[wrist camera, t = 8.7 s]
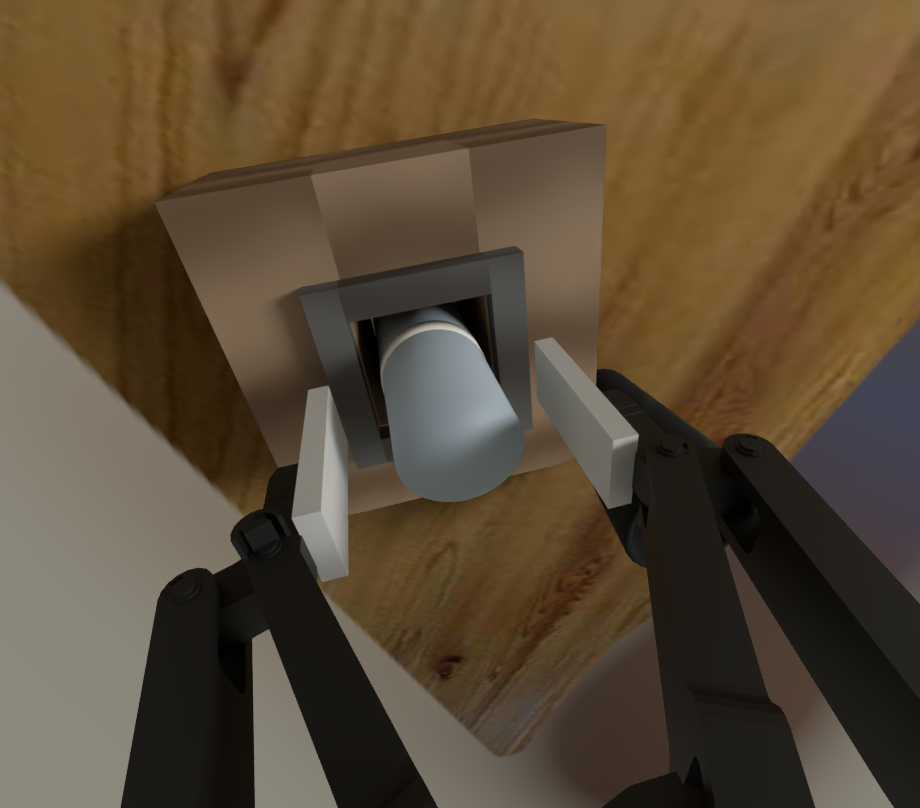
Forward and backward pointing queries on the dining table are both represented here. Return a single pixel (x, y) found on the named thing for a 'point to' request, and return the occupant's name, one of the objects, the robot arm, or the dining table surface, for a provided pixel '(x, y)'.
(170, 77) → the dining table surface
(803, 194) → the dining table surface
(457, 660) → the dining table surface
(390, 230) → the socket block
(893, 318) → the dining table surface
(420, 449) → the peg
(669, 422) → the cup
